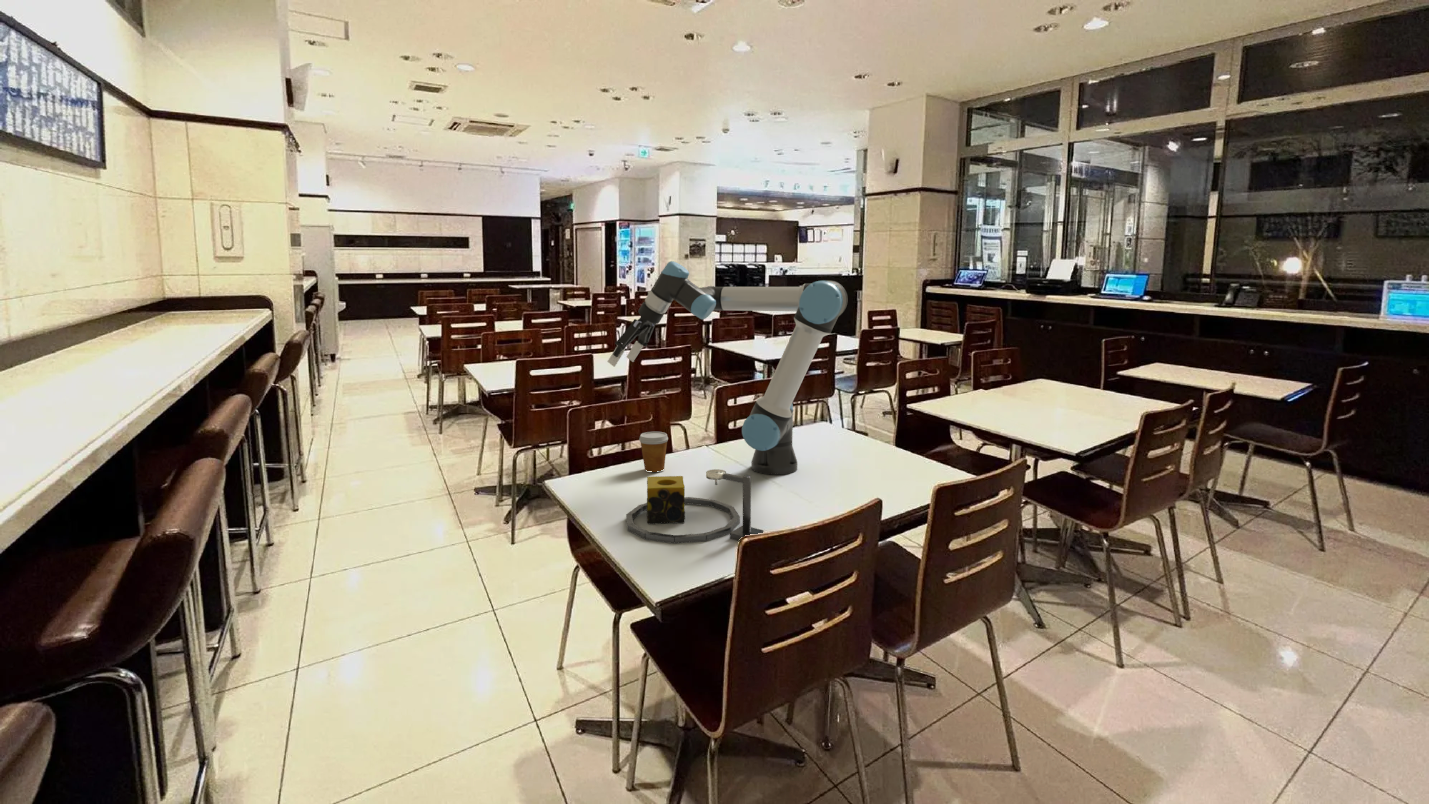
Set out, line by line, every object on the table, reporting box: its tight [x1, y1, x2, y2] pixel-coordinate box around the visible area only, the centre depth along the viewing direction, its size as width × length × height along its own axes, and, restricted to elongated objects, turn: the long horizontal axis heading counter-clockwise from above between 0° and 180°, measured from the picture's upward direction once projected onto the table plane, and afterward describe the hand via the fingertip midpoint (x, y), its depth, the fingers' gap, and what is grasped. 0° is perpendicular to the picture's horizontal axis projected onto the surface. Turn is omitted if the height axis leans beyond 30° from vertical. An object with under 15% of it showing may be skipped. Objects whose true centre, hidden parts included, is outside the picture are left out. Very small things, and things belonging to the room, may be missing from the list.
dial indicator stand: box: [705, 468, 765, 542], centre depth 170 cm, size 14×6×16 cm, turn 55°
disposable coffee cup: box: [638, 431, 669, 472], centre depth 225 cm, size 10×10×12 cm
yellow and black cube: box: [646, 475, 686, 525], centre depth 182 cm, size 10×10×10 cm
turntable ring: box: [625, 496, 741, 544], centre depth 180 cm, size 29×29×2 cm
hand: (620, 361), depth 222 cm, fingers open, 13 cm apart
